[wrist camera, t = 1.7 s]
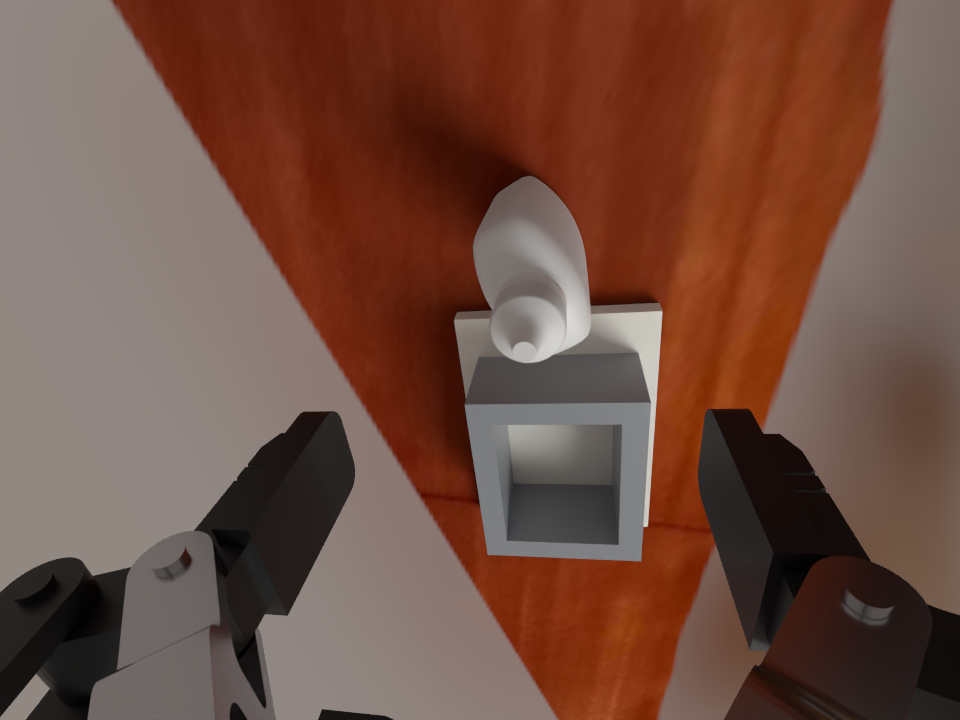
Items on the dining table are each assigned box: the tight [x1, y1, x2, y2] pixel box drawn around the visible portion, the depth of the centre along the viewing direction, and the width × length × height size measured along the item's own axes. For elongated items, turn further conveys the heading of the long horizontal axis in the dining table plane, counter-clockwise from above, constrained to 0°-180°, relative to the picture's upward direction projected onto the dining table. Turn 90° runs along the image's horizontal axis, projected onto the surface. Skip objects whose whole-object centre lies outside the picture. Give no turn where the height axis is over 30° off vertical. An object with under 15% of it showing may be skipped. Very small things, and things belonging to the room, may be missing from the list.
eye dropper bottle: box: [473, 176, 591, 363], centre depth 20 cm, size 4×6×12 cm
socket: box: [454, 303, 662, 561], centre depth 28 cm, size 15×10×6 cm
